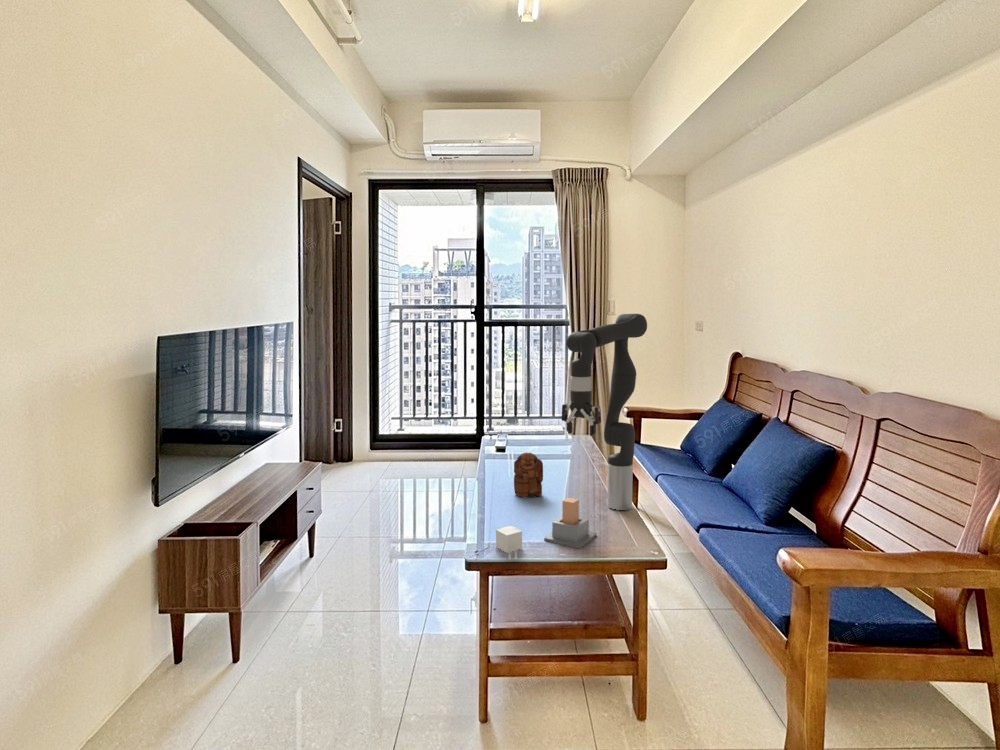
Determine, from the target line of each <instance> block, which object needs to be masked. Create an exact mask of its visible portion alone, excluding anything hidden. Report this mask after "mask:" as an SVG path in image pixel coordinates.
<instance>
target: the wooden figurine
mask: <svg viewBox="0 0 1000 750" xmlns="http://www.w3.org/2000/svg"><path fill="white" fill-rule="evenodd" d="M513 472H514V476H513V487H514V489H513V490H514V495H515V494H516V495H517V497H518V496H521V497H520V498H522V497H527V498H536V497H542V496H543V485H542V482H544V481H543V480H544V465H543V461H542V460H541V459H539V458H538V457H537V456H536V454H534V453H532V452H523V453H521V454H519V455H518V456H517V458H516V459H515V461H514V462H513ZM516 495H515V496H516ZM535 496H536V497H535Z"/></svg>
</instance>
